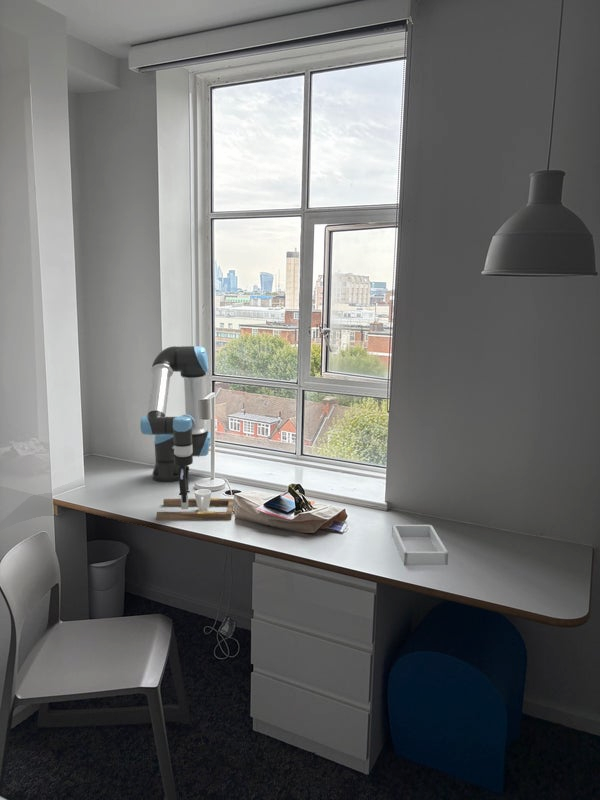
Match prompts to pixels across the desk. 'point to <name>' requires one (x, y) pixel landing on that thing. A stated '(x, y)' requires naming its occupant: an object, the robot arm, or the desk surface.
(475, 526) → the desk surface
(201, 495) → the cup
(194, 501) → the channel
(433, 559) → the tray
